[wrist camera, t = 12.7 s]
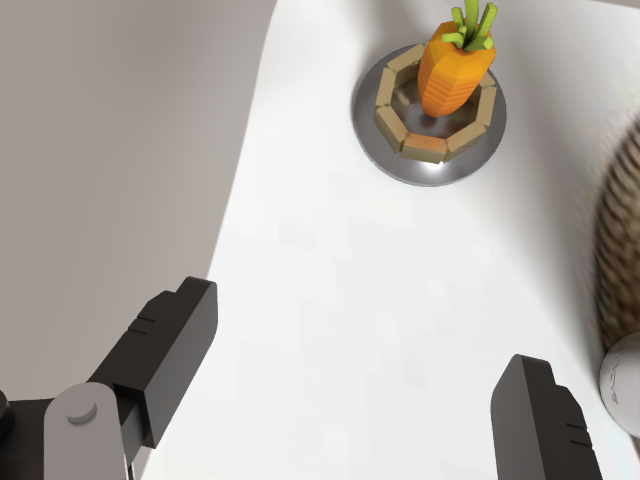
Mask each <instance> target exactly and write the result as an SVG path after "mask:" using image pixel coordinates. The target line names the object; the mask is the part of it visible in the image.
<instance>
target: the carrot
mask: <svg viewBox="0 0 640 480" xmlns="http://www.w3.org/2000/svg"><path fill="white" fill-rule="evenodd" d="M465 8H466V18H463V14H462V11H461V8H458V7H455V8H453V9H452V16H453V20H454V21H450V22H445V23H442V24H441V25H440V26H439V28H438V29H437V31H436V32H435V34H434V35H433V36H432V38H431V39H430V41H429V42H428V44H427V45H426V47H425V49H424V53H423V57H422V60H421V64H420V69H419V73H418V95H419V99H420V103H421V107H422V110H423V112H424V113H425V114H427V115H428V116H430V117H432V118H436V117H441V116H445V115H448V114H451V113H453V112H454V111H455V110H457V109H458V108H459V107H460V106H461V105H463V104H464V103H465V102H466V100H467V99H468V98H469V96H470V95H471V94H472V92H473V91H474V89H475V88H476V86H477V85H478V83H479V82H480V80H481V79H482V77H483V76H484V74H485V73H486V71H487V70H488V68H489V66H490V65H491V63H492V62H493V60H494V58H495V55H496V52H495V49H494V45H493V43H494V42H493V41H492V39H491V35H490V32H489V29H490V27H491V25H492V23H493V21H494V18H495V15H496V13H497V8H496V6H495V5H494V4H492V3H487V6H486V8H485V11H484V13H483V16H482V19H481V22H480V24H477V20H478V0H465Z"/></svg>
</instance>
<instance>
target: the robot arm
mask: <svg viewBox="0 0 640 480" xmlns="http://www.w3.org/2000/svg"><path fill="white" fill-rule="evenodd" d="M217 325H218V304H217V284H216V283H215V282H212V281H208V280H204V279H199V278H195V277H190V276H189V277H187V278H186V279H185V280H184V281H183V283H182V284H181V286H180V287H179V288H178V290H177V291H176V293H174V292H170V291H163V292H162V293H160V294H159V295H157V296H156V297H154V298H153V299H151V300H150V301H148V302H147V304H146V305H145V306H144V308H143V309H142V311H141V312H140V313H139V314H138V316H137V319H135V320H134V321H133V322H132V324H131V325H130V326H129V327H128V330H127V332H125V333H124V334H123V335H122V337H121V338H120V339H119V341H118V342H117V343H116V345H115V346H114V347H113V349H112V350H111V351H110V352H109V354H108V355H107V356H106V358H105V359H104V360H103V362H102V363H101V364H100V366H99V367H98V368H97V370H96V371H95V372H94V374H93V375H92V376H91V377H90V378H89V380H88V381H86V382H85V383H82V384H78V385H75V386H72V387H70V388H68V389H66V390H65V391H64V392H62V393H60V394H59V395H58V396H57V397H56V398H52V399H40V400H21V401H7V399H6V396H5V395H4V393H3V392H2V391H1V390H0V480H135V475H134V469H133V460H134V458H135V456H136V454H137V452H138V451H139V449H140V447H141V446H146V447H150V448H153V449H156V447H157V445H158V443H159V441H160V440H161V438H162V436H163V434H164V432H165V430H166V428H167V426H168V424H169V423H170V421H171V419H172V417H173V415H174V413H175V411H176V409H177V408H178V406H179V404H180V402H181V400H182V398H183V396H184V394H185V393H186V391H187V389H188V387H189V385H190V383H191V381H192V379H193V378H194V376H195V374H196V372H197V370H198V368H199V366H200V364H201V362H202V361H203V359H204V357H205V355H206V353H207V351H208V349H209V347H210V346H211V344H212V342H213V339H214V337H215V334H216V330H217ZM599 385H600V391H601V396H602V399H603V401H604V404H605V406H606V409H607V410H608V412H609V413H610V415H611V416H612V418H613V419H614V420H615V422H616V423H617V424H618V425H619V426H620V427H621V428H622V429H624V430H625V431H626V432H628V433H629V434H631V435H632V436H634V437H636V438H638V439H640V332H635V333H632V334H630V335H628V336H625V337H623V338H622V339H620V340H619V341H618V342H616V343H615V344H614V345H613V346H612V347H611V349H610V350H609V351H608V352H607V354H606V356H605V358H604V360H603V362H602V366H601V370H600V382H599ZM491 421H492V430H493V438H494V447H495V456H496V465H497V474H498V480H603V479H602V475H601V472H600V469H599V465H598V462H597V459H596V456H595V452H594V450H592V442H591V439H590V436H589V432H587V426H586V422H585V419H584V416H583V412H582V409H581V407H580V405H579V404H578V402H577V401H576V400H575V398H574V397H573V395H572V394H571V392H570V391H569V390H568V388H567V387H564V386H560V385H556V383H555V380H554V376H553V372H552V368H551V365H550V363H549V362H548V361H545V360H541V359H537V358H533V357H528V356H524V355H520V354H515V355H514V356H513V357H512V359H511V361H510V362H509V364H508V366H507V368H506V369H505V371H504V373H503V375H502V376H501V378H500V380H499V382H498V383H497V385H496V387H495V389H494V391H493V394H492V399H491Z"/></svg>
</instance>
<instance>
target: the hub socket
mask: <svg viewBox="0 0 640 480" xmlns="http://www.w3.org/2000/svg"><path fill="white" fill-rule="evenodd" d="M427 44H428V42H426V43H424V44H421V43H419V44H416V45H411V46H407V47H404V48H401V49H399V50H396V51H394V52H393V53H391V54H389V55H387V56H386V57H384V58H383V59H382V60H380V61H379V62H378V63H377V64H376V65H375V66H374V67H373V68H372V69H371V70H370V71H369V73H368V74H367V75H366V77H365V79H364V80H363V82H362V84H361V86H360V88H359V91H358V94H357V98H356V103H355V128H356V133H357V136H358V139H359V142H360V144H361V147H362V148H363V150H364V152H365V153H366V155H367V156H368V158H369V159H370V160H371V161H372V162H373V163H374V164H375V165H376V166H377V167H378V168H379V169H380V170H381V171H383V172H384V173H385V174H387V175H389V176H390V177H392V178H394V179H396V180H398V181H401V182H403V183H407V184H410V185H415V186H422V187H436V186H444V185H448V184H452V183H455V182H458V181H460V180H463V179H465V178H466V177H468V176H470V175H472V174H473V173H474V172H476V171H477V170H478V169H480V168H481V167H482V166H483V165H484V164H485V163H486V162H487V161H488V159H489V158H490V157H491V156H492V154H493V153H494V152H495V150H496V149H497V147H498V145H499V143H500V141H501V139H502V136H503V133H504V129H505V125H506V104H505V99H504V95H503V92H502V89H501V87H500V85H499V83H498V81H497V80H496V78H495V77H494V75H493V74H492V72H491V71H490V70H489V69H488V70H487V71H486V73H485V74H484V76H483V77H482V79H481V80H480V82H479V83H478V85H477V86H476V88H475V89H474V91H473V92H472V94H471V95H470V96H469V98H468V99H467V100H466V102H465V103H464V104H463V105H461V106H460V107H459V108H458V109H457V110H455V111H454V112H453V113H451V114H448V115H445V116H441V117H436V118H432V117H430V116H428V115H427V114H425V113H424V112H423V110H422V107H421V103H420V99H419V95H418V73H419V69H420V64H421V60H422V57H423V53H424V49H425V47H426V45H427Z"/></svg>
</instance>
